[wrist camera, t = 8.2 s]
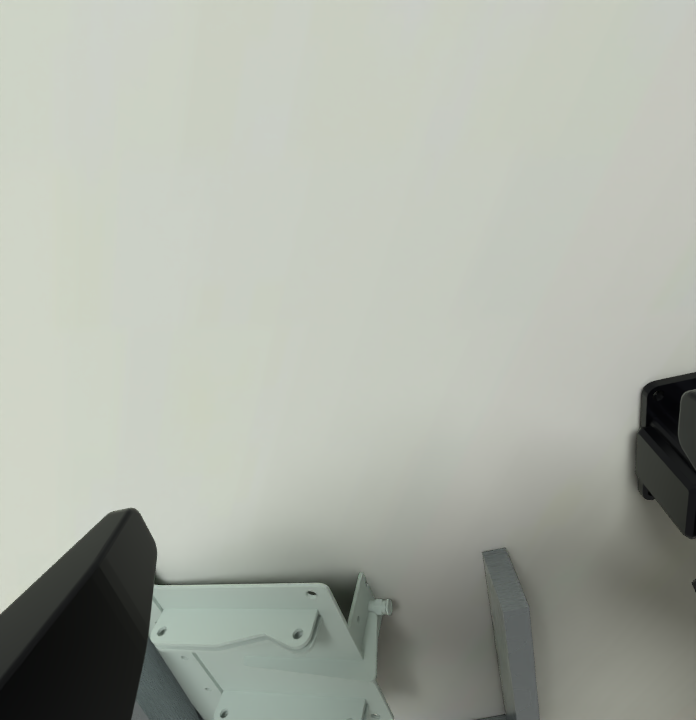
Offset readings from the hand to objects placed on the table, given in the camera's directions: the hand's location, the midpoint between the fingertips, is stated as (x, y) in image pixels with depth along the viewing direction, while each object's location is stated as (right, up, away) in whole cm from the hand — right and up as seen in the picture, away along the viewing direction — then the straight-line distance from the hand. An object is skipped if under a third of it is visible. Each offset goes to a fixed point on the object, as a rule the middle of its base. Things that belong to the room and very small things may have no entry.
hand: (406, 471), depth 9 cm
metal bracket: (-6, -12, +22) cm, 26 cm away
